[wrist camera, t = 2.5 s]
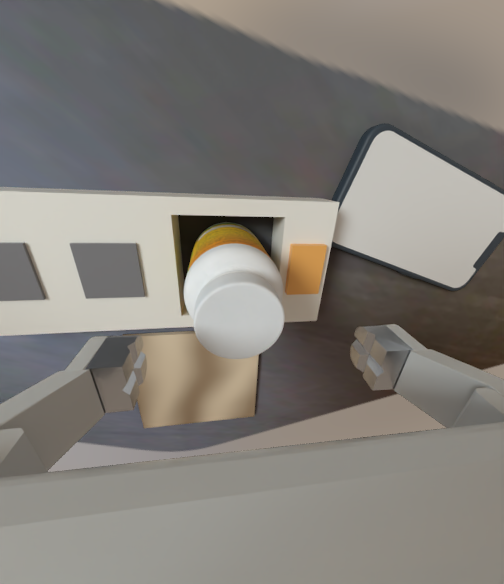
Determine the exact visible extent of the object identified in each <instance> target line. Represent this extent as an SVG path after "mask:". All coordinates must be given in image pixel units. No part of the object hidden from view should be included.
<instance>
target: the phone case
mask: <svg viewBox="0 0 504 584" xmlns="http://www.w3.org/2000/svg"><path fill="white" fill-rule="evenodd" d="M331 201H336V202H340V203H339V208H338V213H337V218H336V223H335V229H334V234H333V239H332V244H331V246H332V247H334V248H337V249H340V250H342V251H345V252H348V253H350V254H353V255H356V256H359V257H361V258H364V259H367V260H369V261H372V262H375V263H377V264H380V265H383V266H385V267H388V268H391V269H393V270H396V271H397V272H399V273H401V274H404V275H406V276H409V277H412V278H414V279H420V280H423V281H425V282H428V283H431V284H434V285H436V286H439V287H442V288H444V289H447V290H450V291H456V290H460V289H462V288H463V287H465V286H466V285H467V284H468V283H469V282H470V280H471V279H472V278H473V276H474V275H475V274H476V273H477V271H478V270H479V269H480V268H481V266H482V265H483V264H484V262H485V261H486V260H487V259H488V257H489V256H490V255H491V253H492V252H493V251H494V250H495V248H496V247H497V246H498V244H499V243H500V242H501V241H502V239H503V238H504V190H503V189H501V188H499V187H498V186H496V185H495V184H493V183H491V182H490V181H488V180H486V179H484V178H482V177H481V176H479V175H478V174H476V173H474V172H472V171H470V170H468V169H467V168H465V167H463V166H461V165H460V164H458V163H456V162H455V161H453V160H451V159H449V158H448V157H446V156H444V155H442V154H441V153H439V152H437V151H436V150H434V149H432V148H430V147H429V146H427V145H425V144H423V143H422V142H420V141H418V140H417V139H415V138H413V137H411V136H410V135H408V134H406V133H405V132H403V131H401V130H399V129H398V128H396V127H394V126H392V125H390V124H380V125H377V126H374V127H371V128H370V129H368V130H367V131H366V132H365V133H364V134H363V135H362V137H361V139H360V141H359V143H358V145H357V147H356V149H355V151H354V153H353V156H352V158H351V160H350V162H349V164H348V166H347V168H346V170H345V173H344V175H343V177H342V179H341V181H340V183H339V185H338V187H337V190H336V192H335V194H334V196H333V198H332V200H331Z"/></svg>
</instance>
